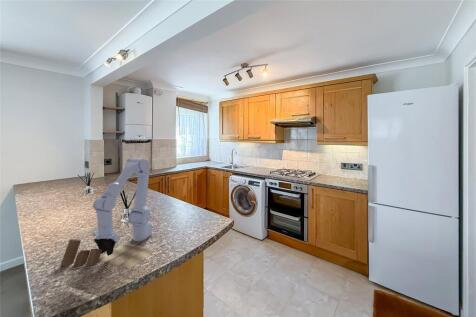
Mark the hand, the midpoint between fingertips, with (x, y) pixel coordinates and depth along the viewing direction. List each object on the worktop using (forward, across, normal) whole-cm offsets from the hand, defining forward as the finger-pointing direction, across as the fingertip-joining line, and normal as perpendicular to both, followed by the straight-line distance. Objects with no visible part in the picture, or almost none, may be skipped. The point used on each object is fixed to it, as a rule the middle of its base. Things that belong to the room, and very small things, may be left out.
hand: (106, 253), depth 95 cm
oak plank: (+3, 0, +5) cm, 6 cm away
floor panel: (+3, +10, +5) cm, 12 cm away
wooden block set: (+3, -9, -7) cm, 12 cm away
